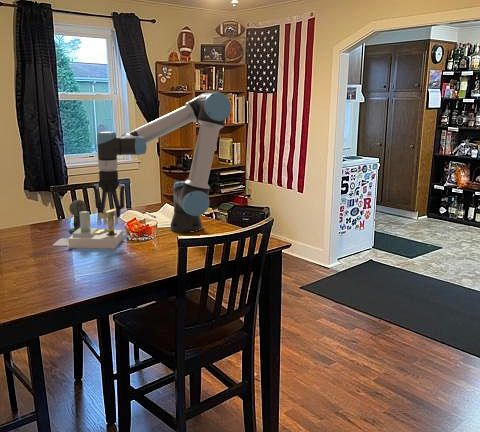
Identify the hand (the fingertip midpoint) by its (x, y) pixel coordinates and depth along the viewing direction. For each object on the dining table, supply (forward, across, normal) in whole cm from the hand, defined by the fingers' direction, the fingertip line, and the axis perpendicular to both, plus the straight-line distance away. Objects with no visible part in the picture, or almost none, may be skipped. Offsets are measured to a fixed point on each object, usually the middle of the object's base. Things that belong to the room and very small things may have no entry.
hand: (111, 224), depth 200 cm
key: (+4, -1, -2) cm, 4 cm away
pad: (+8, -20, 0) cm, 22 cm away
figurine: (+9, -20, +17) cm, 28 cm away
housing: (+8, -6, 0) cm, 11 cm away
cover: (+4, -11, 0) cm, 12 cm away
